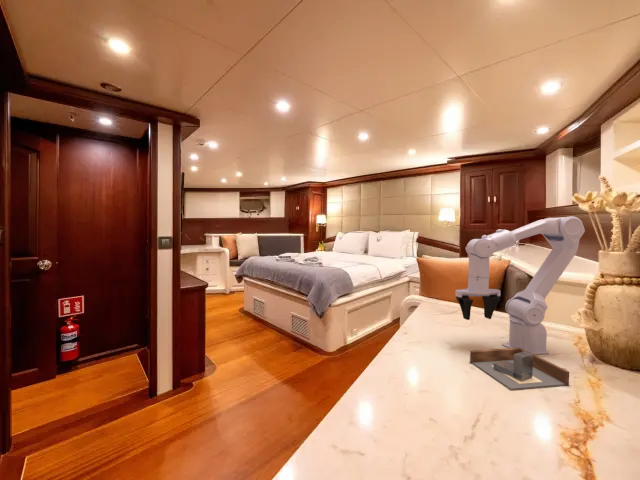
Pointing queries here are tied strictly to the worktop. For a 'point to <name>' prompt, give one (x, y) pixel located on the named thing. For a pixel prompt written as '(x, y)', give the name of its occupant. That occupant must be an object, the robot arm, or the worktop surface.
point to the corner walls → (509, 355)
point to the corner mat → (511, 383)
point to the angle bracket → (517, 366)
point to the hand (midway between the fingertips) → (477, 318)
